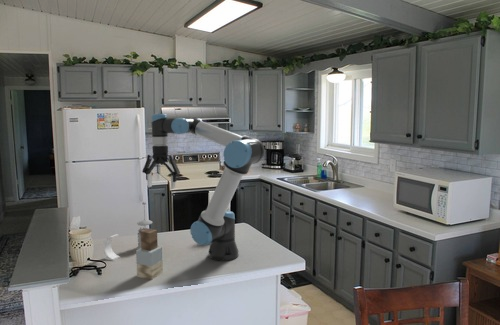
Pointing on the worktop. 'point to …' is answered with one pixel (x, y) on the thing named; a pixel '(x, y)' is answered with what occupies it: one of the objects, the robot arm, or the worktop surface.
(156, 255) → the grey block
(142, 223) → the french press
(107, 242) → the white curved piece
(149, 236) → the walnut block
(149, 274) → the beech block
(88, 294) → the worktop surface
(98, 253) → the worktop surface
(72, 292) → the worktop surface
